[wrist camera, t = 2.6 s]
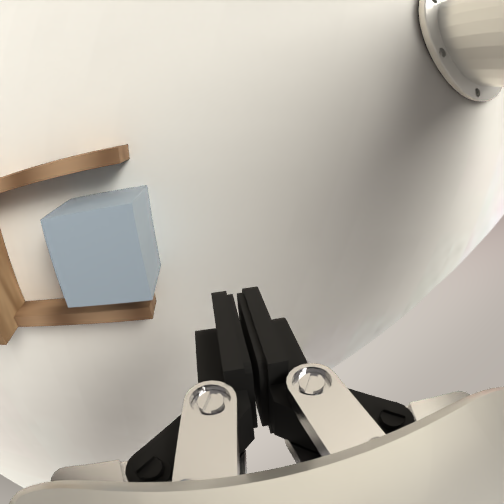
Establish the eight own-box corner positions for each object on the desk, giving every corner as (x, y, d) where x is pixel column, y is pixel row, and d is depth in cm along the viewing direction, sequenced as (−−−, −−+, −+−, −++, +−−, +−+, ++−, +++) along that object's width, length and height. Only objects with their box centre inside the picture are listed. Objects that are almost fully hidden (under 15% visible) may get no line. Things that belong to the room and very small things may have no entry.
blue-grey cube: (147, 184, 19) (131, 203, 15) (160, 263, 22) (152, 300, 17) (71, 198, 19) (40, 219, 14) (89, 272, 21) (68, 307, 17)
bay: (127, 144, 18) (105, 150, 13) (156, 300, 23) (148, 340, 18) (-20, 184, 16) (-56, 201, 12) (20, 311, 21) (-3, 344, 17)
